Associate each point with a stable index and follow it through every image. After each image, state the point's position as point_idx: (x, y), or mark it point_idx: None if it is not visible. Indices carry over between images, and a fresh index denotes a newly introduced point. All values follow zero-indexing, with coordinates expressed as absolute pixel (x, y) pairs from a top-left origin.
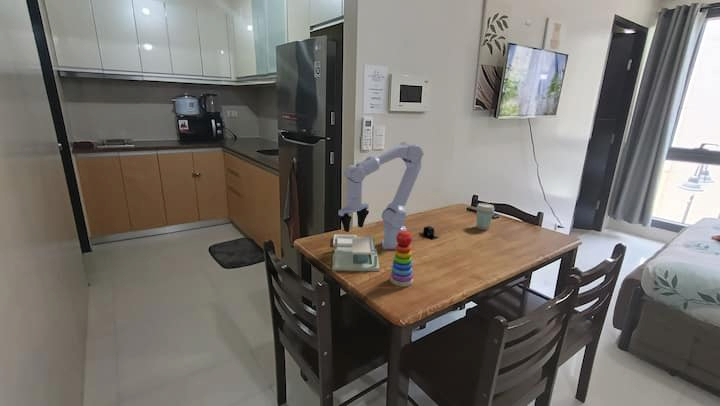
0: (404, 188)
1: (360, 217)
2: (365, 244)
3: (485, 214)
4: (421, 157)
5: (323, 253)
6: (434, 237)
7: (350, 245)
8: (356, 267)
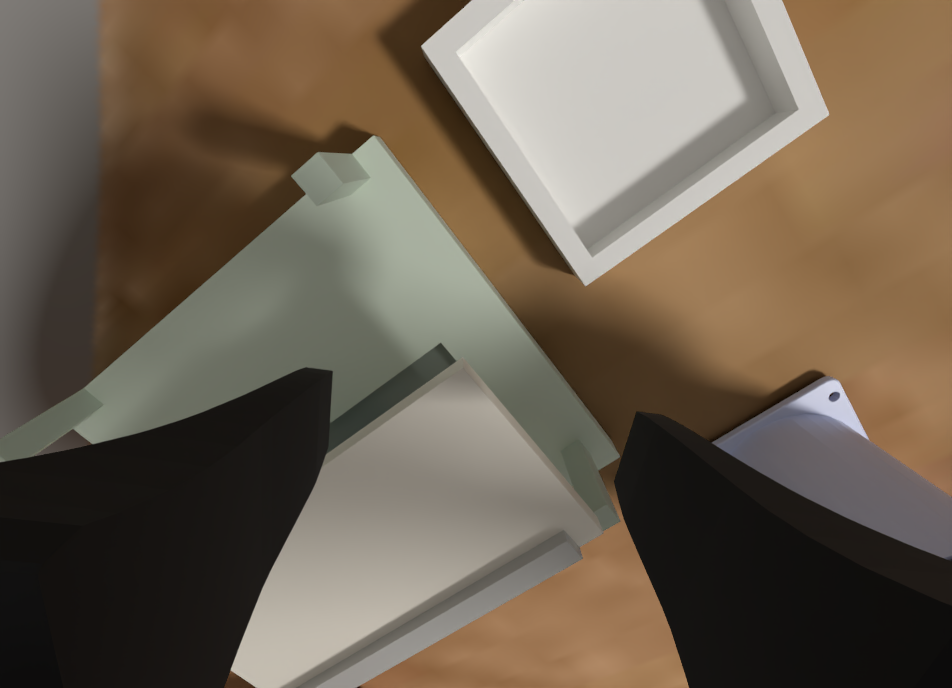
0: None
1: (720, 596)
2: (375, 589)
3: None
4: None
5: (228, 91)
6: None
7: (543, 227)
8: None
